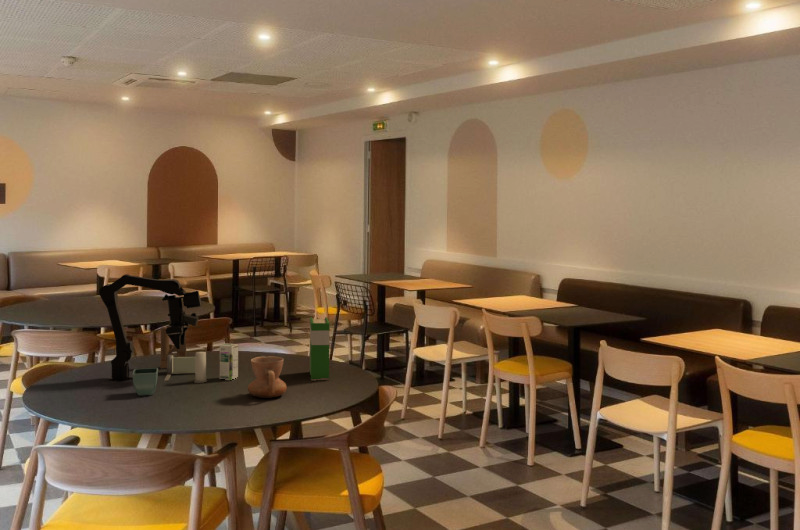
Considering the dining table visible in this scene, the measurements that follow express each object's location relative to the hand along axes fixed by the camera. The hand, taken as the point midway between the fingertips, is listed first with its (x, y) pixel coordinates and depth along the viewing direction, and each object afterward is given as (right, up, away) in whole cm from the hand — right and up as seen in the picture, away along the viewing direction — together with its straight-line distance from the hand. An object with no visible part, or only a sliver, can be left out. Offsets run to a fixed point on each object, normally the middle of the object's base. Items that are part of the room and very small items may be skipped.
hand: (180, 346), depth 310 cm
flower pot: (-5, -15, -27) cm, 31 cm away
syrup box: (+20, -14, 0) cm, 24 cm away
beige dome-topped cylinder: (+10, -14, -6) cm, 18 cm away
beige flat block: (0, -12, +9) cm, 15 cm away
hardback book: (+57, -14, +8) cm, 59 cm away
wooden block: (-9, -12, +21) cm, 26 cm away
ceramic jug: (+41, -16, -27) cm, 52 cm away
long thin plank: (-6, -13, +4) cm, 15 cm away
